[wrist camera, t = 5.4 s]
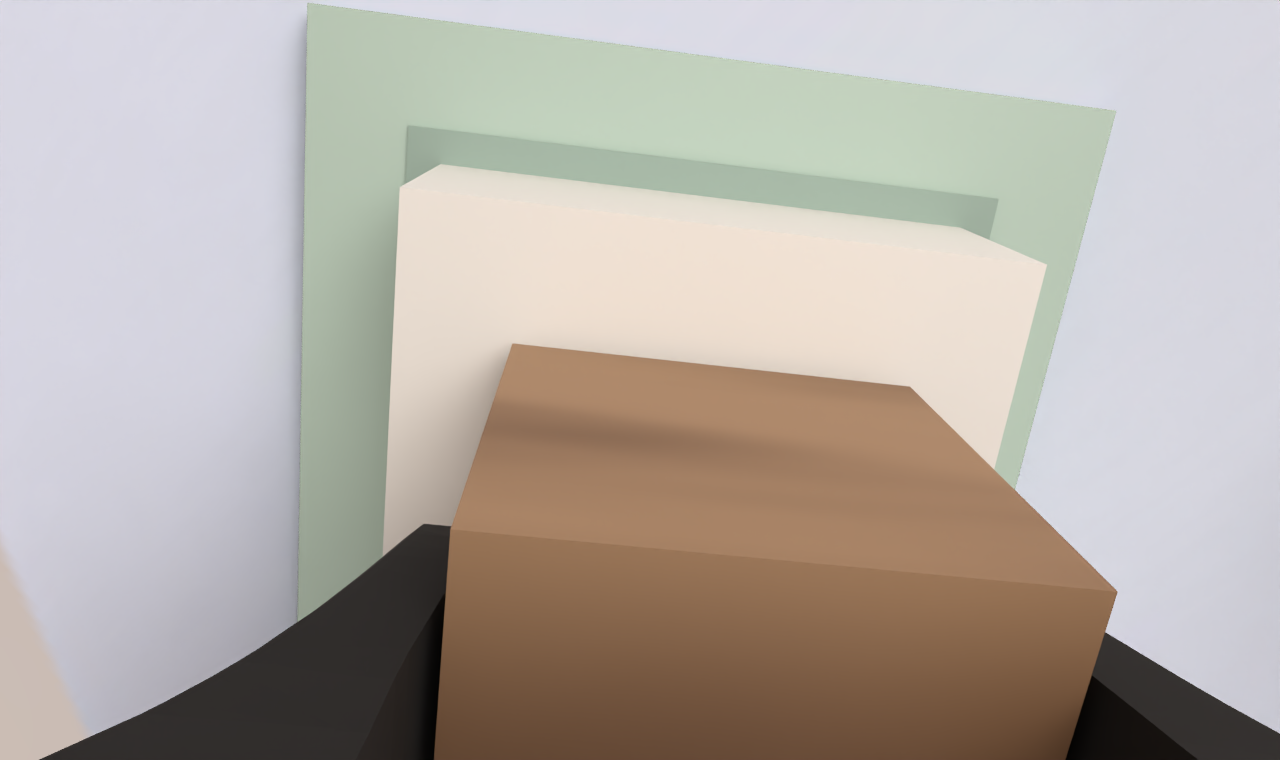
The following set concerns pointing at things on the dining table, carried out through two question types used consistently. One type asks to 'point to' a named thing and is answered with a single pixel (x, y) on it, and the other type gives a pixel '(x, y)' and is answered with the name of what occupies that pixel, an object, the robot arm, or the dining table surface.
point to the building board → (631, 157)
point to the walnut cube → (749, 576)
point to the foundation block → (678, 306)
